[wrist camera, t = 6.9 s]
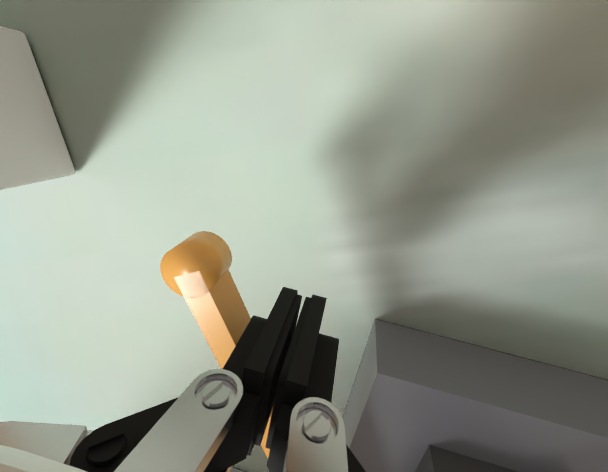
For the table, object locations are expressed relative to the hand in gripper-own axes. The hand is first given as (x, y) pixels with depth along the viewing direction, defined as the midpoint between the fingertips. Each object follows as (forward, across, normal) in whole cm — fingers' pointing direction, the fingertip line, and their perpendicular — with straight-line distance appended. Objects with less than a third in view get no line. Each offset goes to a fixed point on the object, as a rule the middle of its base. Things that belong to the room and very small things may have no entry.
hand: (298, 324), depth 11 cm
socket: (+6, -11, +12) cm, 17 cm away
